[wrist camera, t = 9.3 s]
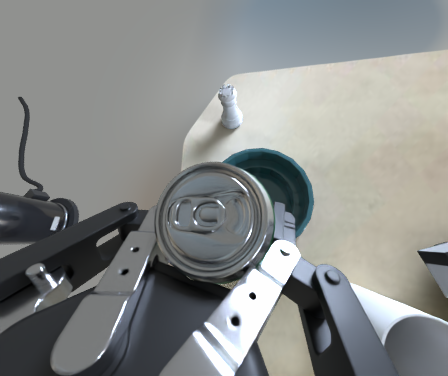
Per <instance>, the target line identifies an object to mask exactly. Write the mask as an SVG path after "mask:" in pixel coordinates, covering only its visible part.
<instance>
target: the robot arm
mask: <svg viewBox="0 0 448 376" xmlns="http://www.w3.org/2000/svg"><path fill="white" fill-rule="evenodd" d="M18 99H19V100H20V102H21V104H22V105H23V107H24V111H25V119H24V126H23V134H22V138H21V143H20V148H19V161H18V162H19V163H18V165H19V172H20V175H21V177H22V179H23V180H25V181H26V182H28V183H30V184H32V185H34V186H36V187H37V189H34V190H33V189H30V190H29V191H28V192H27V193H26V194H25V195H24V196H19V195H14V194H8V193H3V192H0V245H13V244H31V245H29V246H27V247H25V248H22V249H20V250H18V251H16V252H14V253H12V254H10V255H7V256H5V257H3V258H1V259H0V376H269V374H268V371H267V369H266V366H265V363H264V360H263V357H262V355H261V352H260V349H259V346H258V343H257V341H258V339H259V337H260V335H261V333H262V331H263V329H264V328H265V326H266V324H267V322H268V320H269V318H270V316H271V314H272V312H273V310H274V308H275V306H276V304H277V302H278V301H279V299H280V297H281V295H282V293H283V294H284V295H285V296H287V297H288V298H289V299H291V300H292V301H293V302H295V303H296V304H298V308H299V312H300V317H301V321H302V325H303V329H304V333H305V337H306V341H307V345H308V349H309V353H310V357H311V362H312V366H313V370H314V374H315V376H400V375H399V373H398V372H397V370H396V368H395V366H394V364H393V362H392V360H391V359H390V357H389V355H388V353H387V351H386V349H385V348H384V346H383V344H382V342H381V340H380V338H379V337H378V335H377V333H376V331H375V329H374V327H373V325H372V324H371V322H370V320H369V318H368V316H367V314H366V313H365V311H364V309H363V307H362V305H361V303H360V302H359V300H358V298H357V296H356V294H355V292H354V290H353V289H352V287H351V285H350V283H349V281H348V280H347V278H346V277H345V275H344V274H343V273H342V272H341V271H339V270H338V269H337V268H335V267H333V266H330V265H327V264H321V265H318V266H317V267H316V266H314V265H312V264H311V263H309V262H307V261H306V260H304V259H303V258H302V257H301V256H300V253H299V251H298V249H297V248H296V236H295V218H294V216H293V215H292V213H289V212H285V204H283V203H279V202H274V205H273V207H274V212H275V233H274V238H273V241H272V244H271V247H270V249H269V251H268V253H267V255H266V256H265V258H264V259H263V261H262V262H261V263H260V264H259V265H258V267H257V266H251V267H250V268H249V269H248V270H247V272H246V273H245V274H244V275H243V277H242V278H241V279H240V280H239V281H238V283H237V284H236V285H235V286H234V288H233V289H232V290H230V289H228V288H225V287H223V286H220V285H218V284H215V283H213V282H205V281H197V280H191V279H189V278H188V277H187V276H185V275H184V274H183V273H182V272H180V271H179V270H177V269H176V268H175V267H173V266H170V265H168V263H169V261H168V260H167V259H166V258H165V257H164V255H163V253H162V251H161V250H160V248H159V245H158V243H157V240H156V235H155V228H154V218H155V211H156V207H157V205H156V206H154V207H152V208H151V209H150V210H138V207H137V204H136V203H133V202H125V203H121V204H118V205H116V206H114V207H112V208H110V209H107V210H105V211H103V212H101V213H99V214H96V215H94V216H92V217H90V218H88V219H86V220H83V221H81V222H79V223H77V224H75V225H72V226H70V227H68V228H67V226H68V223H69V210H68V208H67V207H66V206H65V205H63V204H61V203H55V202H51V201H47V200H48V199H49V198H50V197H49V196H48V194H47V193H45V192H42V190H43V186H42V185H41V184H39V183H37V182H35V181H33V180H31V179H29V178H28V177H27V176H26V173H25V170H24V151H25V144H26V140H27V135H28V127H29V118H30V117H29V109H28V106H27V104H26V103H25V101H24V100H23V98H22V97H18ZM117 228H118V232H119V235H117V236H115V237H114V238H112V239H110V240H108V241H107V242H105V243H103V244H102V245H100V246H98V247H97V246H96V243H97V241H98V240H99V239H100V238H101V237H103V236H105V235H107V234H108V233H110V232H112V231H114V230H116V229H117ZM108 266H109V267H108ZM107 267H108V269H107V270H106V272H105V274H104V275H103V277H102V278H101V280H100V282H99V283H98V285H97V286H95V287H93V288H90V289H88V290H86V291H84V292H81V293H79V294H77V295H74V296H72V297H70V298H67V297H68V296H69V295H70V293H71V292H73V291H74V290H76V289H77V288H78V287H80V286H81V285H83V284H84V283H86V282H87V281H88V280H90V279H91V278H93V277H94V276H95V275H97V274H98V273H100V272H101V271H103V270H104V269H105V268H107Z"/></svg>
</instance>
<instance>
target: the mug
mask: <svg viewBox="0 0 448 376" xmlns="http://www.w3.org/2000/svg"><path fill="white" fill-rule="evenodd" d="M350 285H351V287H352V289H353V290H354V292H355V294H356V296H357V298H358V300H359V302H360V303H361V305H362V307H363V309H364V311H365V313H366V314H367V316H368V318H369V320H370V322H371V324H372V325H373V327H374V329H375V331H376V333H377V335H378V337H379V338H380V340H381V342H382V344H383V346H384V348H385V349H386V351H387V353H388V355H389V357H390V359H391V360H392V362H393V364H394V366H395V368H396V370H397V372H398V373H399V375H400V376H448V322H446V321H444V320H442V319H439V318H437V317H434V316H431V315H429V314H427V313H424V312H422V311H420V310H417V309H415V308H412V307H410V306H407V305H405V304H402V303H400V302H397V301H395V300H392V299H390V298H387V297H385V296H382V295H380V294H377V293H375V292H372V291H370V290H367V289H365V288H363V287H360V286H357V285H355V284H352V283H350Z"/></svg>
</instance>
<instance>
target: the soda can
mask: <svg viewBox="0 0 448 376" xmlns="http://www.w3.org/2000/svg"><path fill="white" fill-rule="evenodd" d="M154 228H155V235H156V240H157V243H158V245H159V248H160V250H161V251H162V253H163V255H164V257H165V258H166V259H167V260H168V261H169V263H170V264H172V265H173V266H174V267H175V268H176V269H177V270H179V271H180V272H182V273H183V274H184V275H185V276H187V277H189V278H191V279H193V280H197V281H205V282H213V283H215V284H225V283H231V282H233V281H236V280H239V279H241V278H242V277H243V275H244V274H245V273H246V272H247V270H248V269H249V268H250V267H251V266H257V267H258V265H259V264H260V263H261V262H262V261H263V259H264V258H265V256H266V255H267V253H268V251H269V249H270V247H271V244H272V241H273V238H274V233H275V212H274V207H273V204H272V201H271V199H270V196H269V194H268V192H267V191H266V189H265V188H264V186H263V185H262V184H261V183H260V182H259V181H258V180H257V179H256V178H255V177H254V176H252V175H251V174H250V173H248V172H246V171H245V170H243V169H240V168H238V167H235V166H233V165H230V164H227V163H221V162H206V163H201V164H197V165H194V166H192V167H189V168H187V169H185V170H184V171H182V172H181V173H179V174H178V175H177V176H176V177H175V178H173V179H172V180H171V182H170V183H169V184H168V185H167V186H166V188H165V189H164V191H163V193H162V194H161V196H160V198H159V201H158V204H157V207H156V211H155V218H154Z"/></svg>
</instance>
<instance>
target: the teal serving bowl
mask: <svg viewBox="0 0 448 376" xmlns="http://www.w3.org/2000/svg"><path fill="white" fill-rule="evenodd" d="M222 163H227V164H230V165H233V166H235V167H238V168H240V169H243V170H245V171H246V172H248V173H250V174H251V175H252V176H254V177H255V178H256V179H257V180H258V181H259V182H260V183H261V184H262V185H263V186H264V188H265V189H266V191H267V192H268V194H269V196H270V199H271V201H272V204H273V205H274V202H279V203H283V204H285V212H289V213H292V215H293V216H294V218H295V236H296V238H297V237H298V236H300V235H301V234H302V232H303V230H304V229H305V227H306V226H307V224H308V223H309V221H310V219H311V215H312V210H313V205H314V198H313V191H312V185H311V183H310V181H309V179H308V177H307V175H306V173H305V171H304V170H303V169H302V168H301V167H300V166H299V165H298V164H297V163H296V162H295V161H294V160H293V159H292V158H290V157H288V156H286V155H284V154H282V153H280V152H278V151H274V150H269V149H264V148H258V149H246V150H244V151H241V152H238V153H235V154H233V155H231V156H230V157H229V158H227V159H226V160H224V161H223V162H222Z"/></svg>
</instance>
